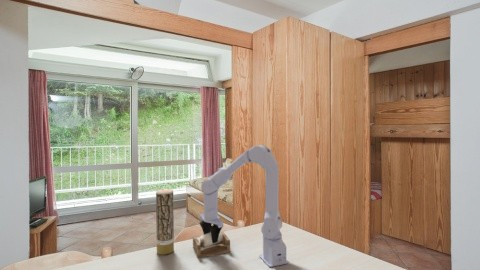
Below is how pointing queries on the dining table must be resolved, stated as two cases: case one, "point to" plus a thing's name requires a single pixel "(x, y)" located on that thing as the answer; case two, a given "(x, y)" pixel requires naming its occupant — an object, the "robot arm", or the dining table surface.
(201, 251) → the holder
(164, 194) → the paper tube
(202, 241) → the roll
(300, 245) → the dining table surface
